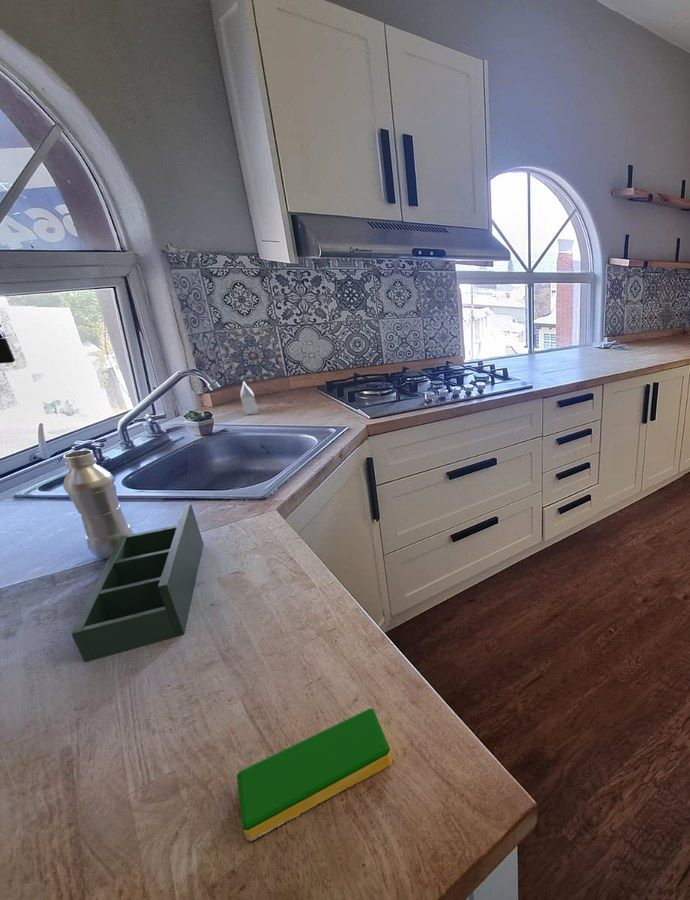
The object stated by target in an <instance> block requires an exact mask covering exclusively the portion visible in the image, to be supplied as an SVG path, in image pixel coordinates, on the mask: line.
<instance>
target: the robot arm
mask: <svg viewBox="0 0 690 900" xmlns="http://www.w3.org/2000/svg"><path fill="white" fill-rule="evenodd" d="M2 326H3V325H2V323H1V322H0V364H12V363H14V362H15V361H16V360H15V356H14V355H13V352H12V349H11V347H10V345H9V342H8V340H7V338H6V333H5V332H4V331H3V329H2Z"/></svg>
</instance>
